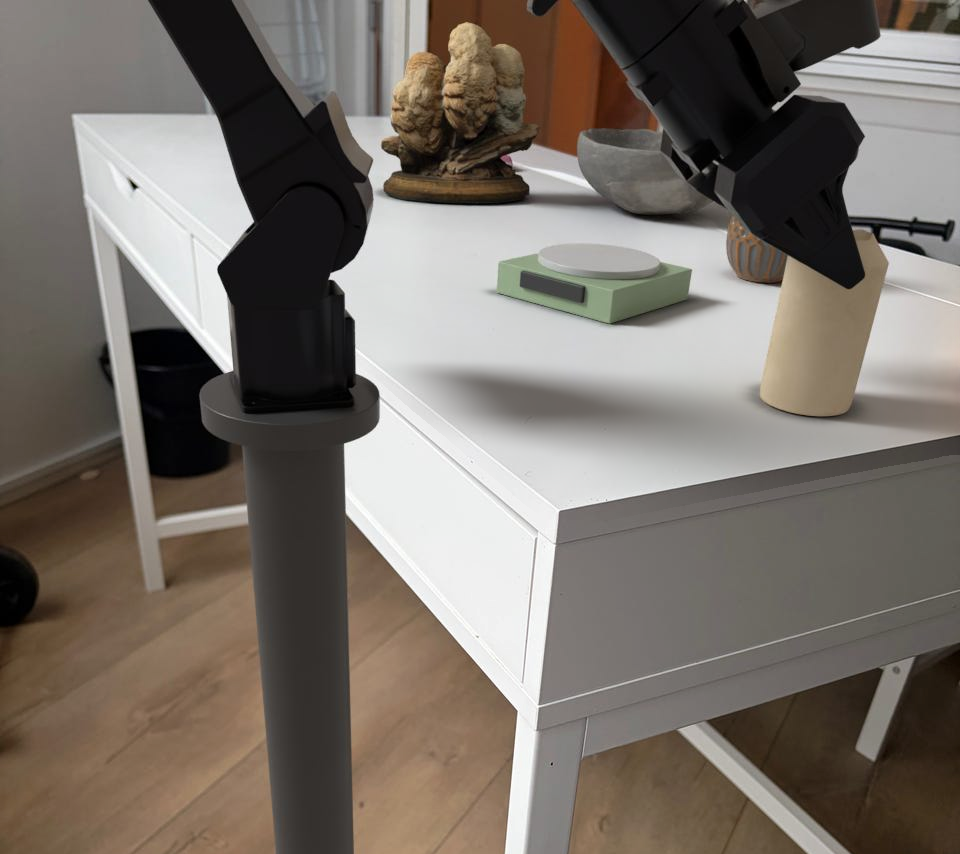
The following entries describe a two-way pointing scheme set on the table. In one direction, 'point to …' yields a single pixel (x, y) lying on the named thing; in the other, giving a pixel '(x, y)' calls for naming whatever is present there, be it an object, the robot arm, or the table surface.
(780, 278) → the vase
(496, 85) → the owl figurine
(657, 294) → the scale
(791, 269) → the candle
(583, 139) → the bowl
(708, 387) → the table surface
